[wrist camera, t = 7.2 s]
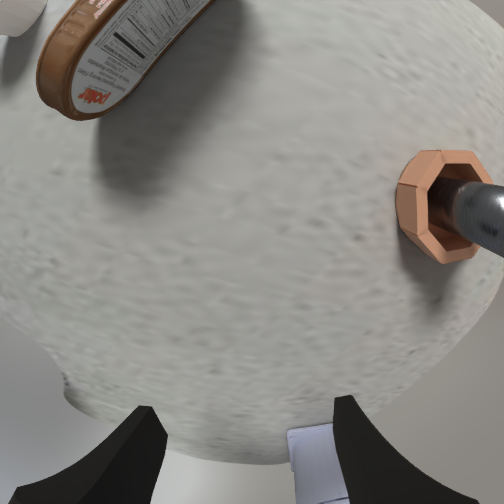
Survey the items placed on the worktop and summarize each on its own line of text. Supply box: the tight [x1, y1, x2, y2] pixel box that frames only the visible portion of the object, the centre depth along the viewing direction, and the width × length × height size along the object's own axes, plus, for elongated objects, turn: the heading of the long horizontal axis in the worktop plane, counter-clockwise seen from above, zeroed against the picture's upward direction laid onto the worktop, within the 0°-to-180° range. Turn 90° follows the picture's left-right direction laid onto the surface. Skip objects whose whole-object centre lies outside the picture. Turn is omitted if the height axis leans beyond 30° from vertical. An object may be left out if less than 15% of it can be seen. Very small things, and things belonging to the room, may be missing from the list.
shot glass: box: [0, 0, 47, 37], centre depth 9 cm, size 7×7×7 cm
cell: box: [427, 177, 504, 258], centre depth 12 cm, size 4×4×8 cm
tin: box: [36, 0, 215, 121], centre depth 10 cm, size 15×3×8 cm, turn 142°
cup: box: [396, 150, 494, 264], centre depth 15 cm, size 7×7×3 cm
